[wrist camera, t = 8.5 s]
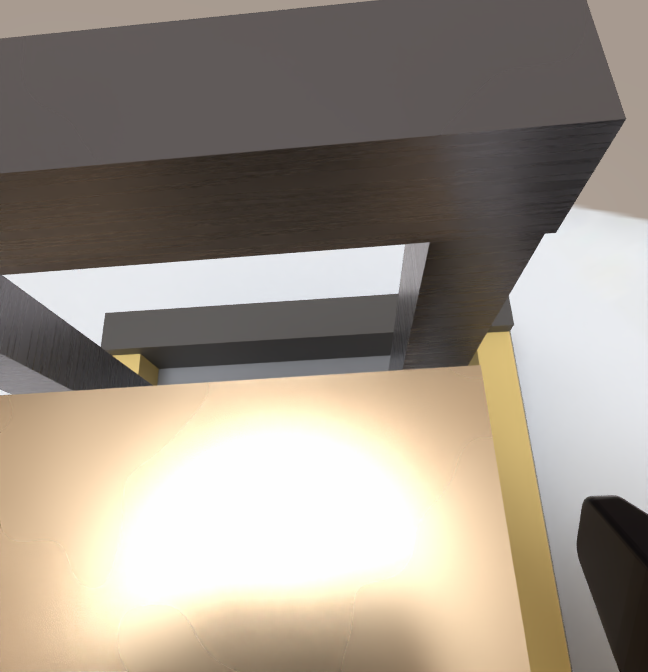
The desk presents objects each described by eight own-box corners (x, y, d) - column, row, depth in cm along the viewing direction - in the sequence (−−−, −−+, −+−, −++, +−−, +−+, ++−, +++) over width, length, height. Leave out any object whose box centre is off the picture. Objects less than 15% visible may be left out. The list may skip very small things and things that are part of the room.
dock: (569, 823, 14) (656, 942, 10) (103, 826, 15) (-1, 939, 11) (489, 341, 19) (524, 285, 15) (147, 361, 20) (89, 313, 16)
